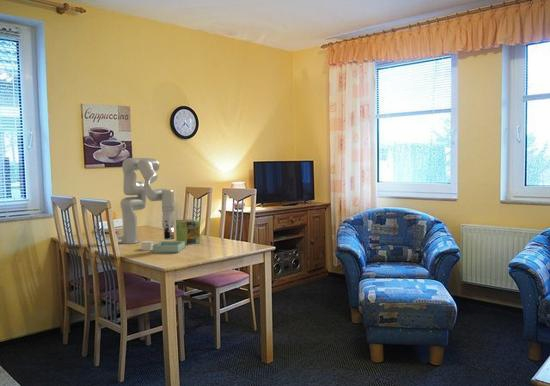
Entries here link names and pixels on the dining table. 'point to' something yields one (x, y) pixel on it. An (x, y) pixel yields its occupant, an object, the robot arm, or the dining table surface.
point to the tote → (168, 247)
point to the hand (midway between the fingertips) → (168, 237)
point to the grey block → (147, 245)
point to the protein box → (188, 231)
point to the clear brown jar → (170, 233)
